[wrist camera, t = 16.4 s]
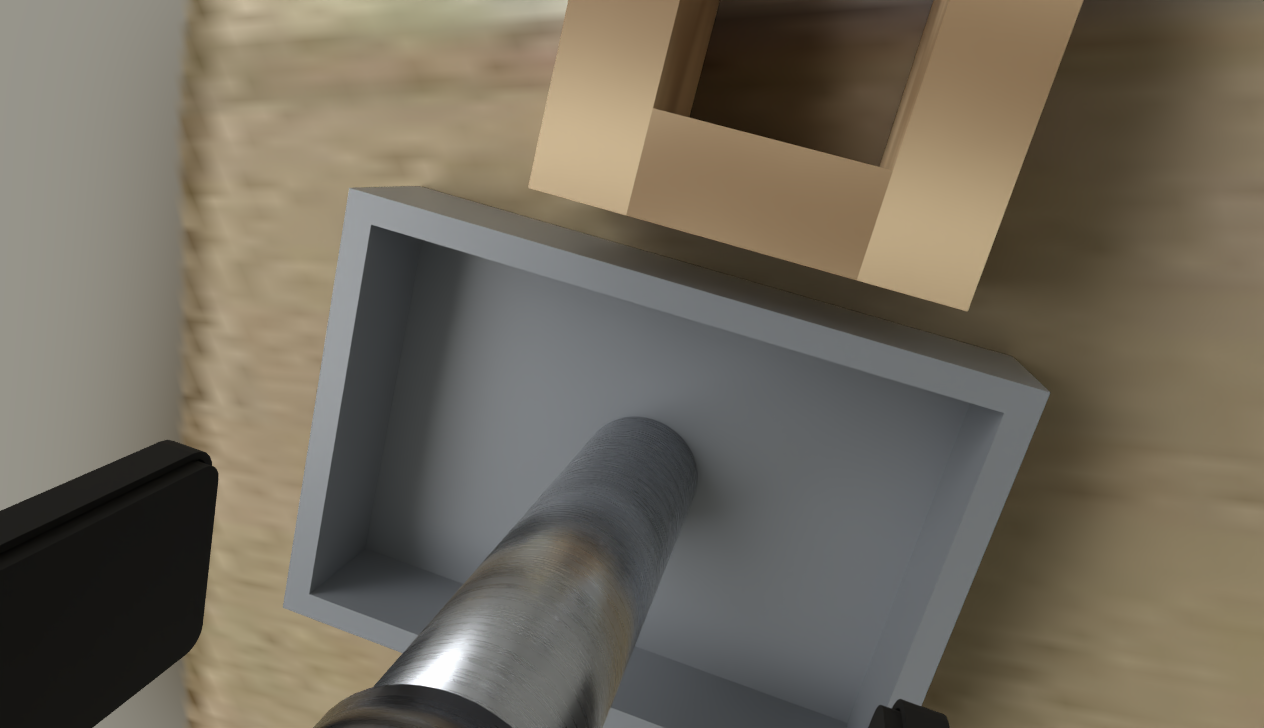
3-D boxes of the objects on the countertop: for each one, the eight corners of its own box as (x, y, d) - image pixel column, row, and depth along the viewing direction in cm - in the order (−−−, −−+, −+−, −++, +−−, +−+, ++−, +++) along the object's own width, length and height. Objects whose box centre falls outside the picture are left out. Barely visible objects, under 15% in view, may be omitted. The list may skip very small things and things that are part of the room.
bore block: (677, -205, 17) (636, -315, 13) (1081, -124, 16) (1165, -220, 12) (586, 185, 19) (528, 187, 15) (936, 282, 18) (966, 311, 14)
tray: (419, 186, 20) (349, 187, 17) (1012, 356, 18) (1050, 392, 15) (353, 550, 23) (282, 607, 20) (862, 736, 21) (869, 831, 18)
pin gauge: (591, 390, 19) (262, 698, 8) (722, 432, 19) (573, 822, 8) (560, 512, 20) (225, 945, 9) (685, 554, 20) (501, 1070, 8)
